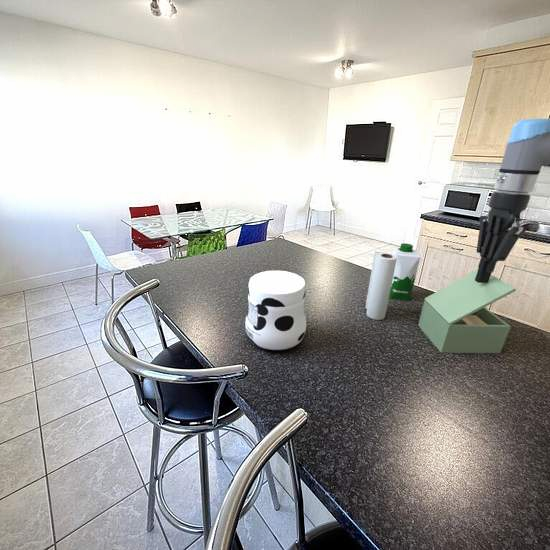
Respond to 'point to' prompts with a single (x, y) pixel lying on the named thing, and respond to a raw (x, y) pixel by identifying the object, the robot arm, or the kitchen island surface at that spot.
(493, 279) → the lid
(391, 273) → the paper towel roll
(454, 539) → the kitchen island surface
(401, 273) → the milk carton
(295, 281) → the milk container
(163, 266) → the kitchen island surface
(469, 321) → the block
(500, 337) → the green hinged box
